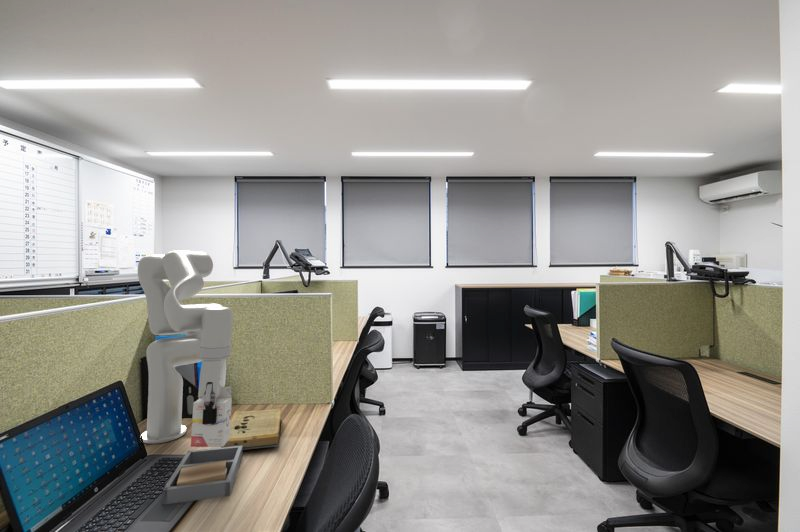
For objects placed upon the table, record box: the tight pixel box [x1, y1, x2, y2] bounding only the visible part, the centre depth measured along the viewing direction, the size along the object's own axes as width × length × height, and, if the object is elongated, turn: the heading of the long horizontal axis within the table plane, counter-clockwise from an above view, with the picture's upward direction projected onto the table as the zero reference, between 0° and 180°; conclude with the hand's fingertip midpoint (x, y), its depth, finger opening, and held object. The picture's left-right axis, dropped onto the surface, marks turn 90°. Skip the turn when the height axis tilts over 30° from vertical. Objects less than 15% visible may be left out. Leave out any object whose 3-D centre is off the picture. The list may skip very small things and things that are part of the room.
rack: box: [161, 445, 244, 506], centre depth 92 cm, size 19×14×4 cm
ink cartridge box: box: [190, 386, 233, 448], centre depth 97 cm, size 9×5×15 cm, turn 95°
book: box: [220, 406, 283, 451], centre depth 117 cm, size 25×17×6 cm
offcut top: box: [177, 460, 226, 486], centre depth 88 cm, size 7×10×2 cm
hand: (212, 418), depth 97 cm, fingers closed on ink cartridge box, 5 cm apart
